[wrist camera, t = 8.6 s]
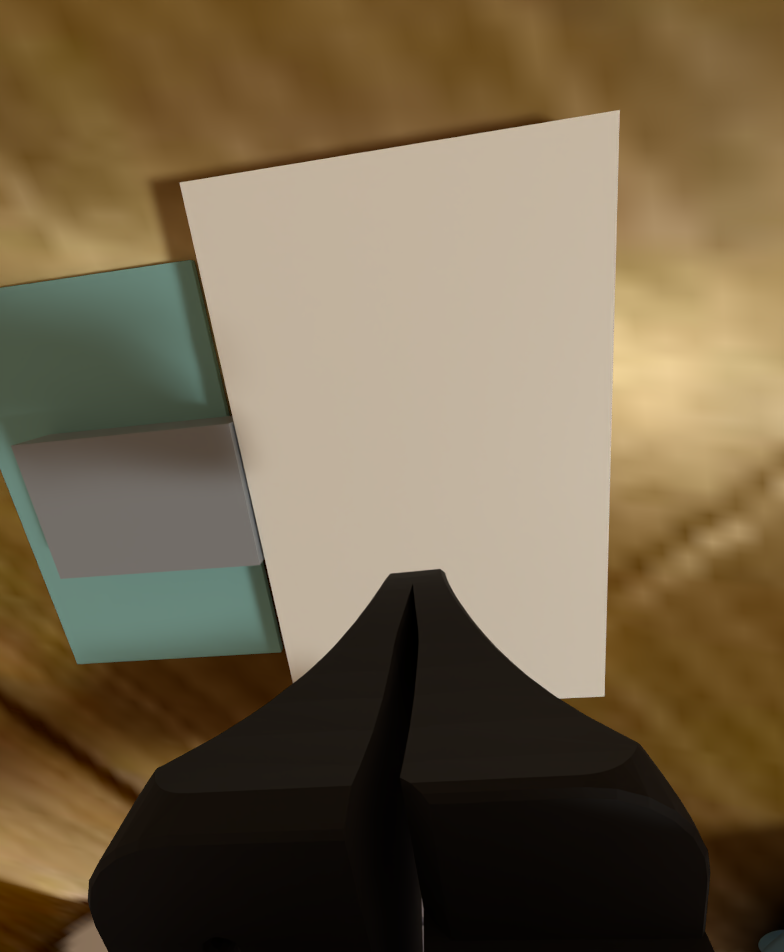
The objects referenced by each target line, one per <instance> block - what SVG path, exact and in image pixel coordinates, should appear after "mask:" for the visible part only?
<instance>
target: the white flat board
mask: <svg viewBox="0 0 784 952" xmlns="http://www.w3.org/2000/svg"><path fill="white" fill-rule="evenodd" d="M619 114H620V110H618V111H612V112H606V113H599V114H593V115H587V116H581V117H575V118H569V119H563V120H557V121H551V122H545V123H539V124H533V125H527V126H520V127H514V128H508V129H502V130H496V131H490V132H484V133H478V134H472V135H466V136H460V137H454V138H448V139H442V140H435V141H429V142H423V143H417V144H411V145H405V146H399V147H393V148H387V149H381V150H375V151H369V152H363V153H356V154H350V155H344V156H338V157H332V158H326V159H320V160H314V161H308V162H302V163H296V164H290V165H284V166H277V167H271V168H265V169H259V170H253V171H247V172H241V173H235V174H229V175H223V176H217V177H211V178H205V179H198V180H192V181H186V182H180V187H181V191H182V196H183V200H184V205H185V209H186V214H187V218H188V222H189V227H190V231H191V236H192V240H193V244H194V249H195V253H196V258H197V262H198V266H199V271H200V275H201V280H202V284H203V289H204V293H205V297H206V302H207V306H208V311H209V315H210V319H211V324H212V328H213V333H214V337H215V341H216V346H217V350H218V355H219V359H220V363H221V368H222V372H223V377H224V381H225V386H226V390H227V394H228V399H229V403H230V408H231V412H232V416H233V421H234V425H235V430H236V434H237V438H238V443H239V447H240V452H241V456H242V461H243V465H244V469H245V474H246V478H247V483H248V487H249V491H250V496H251V500H252V505H253V509H254V513H255V518H256V522H257V527H258V531H259V535H260V540H261V544H262V549H263V553H264V558H265V562H266V566H267V571H268V575H269V580H270V584H271V588H272V593H273V597H274V602H275V606H276V610H277V615H278V619H279V624H280V628H281V633H282V637H283V641H284V646H285V650H286V655H287V659H288V663H289V668H290V672H291V677H292V681H293V683H294V682H295V681H297V680H298V679H299V678H301V677H302V676H303V675H304V674H305V673H306V672H308V671H309V670H310V669H311V668H312V667H313V666H314V665H315V664H316V663H317V662H318V661H320V660H321V659H322V658H323V657H324V656H325V655H326V654H327V653H328V652H329V651H330V650H331V649H332V648H333V647H334V646H335V645H336V643H337V642H338V641H339V640H340V639H341V638H342V636H343V635H344V634H345V633H346V632H347V631H348V630H349V628H350V627H351V626H352V625H353V624H354V622H355V621H356V620H357V619H358V617H359V616H360V615H361V613H362V612H363V611H364V609H365V608H366V607H367V605H368V604H369V603H370V601H371V600H372V598H373V597H374V596H375V594H376V593H377V591H378V590H379V588H380V587H381V585H382V584H383V582H384V581H385V579H386V578H387V577H388V576H389V574H391V573H401V572H412V571H422V570H433V569H441V570H442V571H444V572H445V574H446V577H447V580H448V582H449V584H450V586H451V588H452V590H453V592H454V594H455V595H456V597H457V598H458V600H459V602H460V603H461V604H462V606H463V607H464V609H465V610H466V612H467V613H468V614H469V616H470V617H471V618H472V620H473V621H474V622H475V623H476V625H477V626H478V627H479V628H480V629H481V631H482V632H483V633H484V634H485V635H486V636H487V638H488V639H489V640H490V641H491V642H492V643H493V644H494V645H495V646H496V647H497V648H498V649H499V650H500V651H501V652H502V653H503V654H504V655H505V656H506V657H507V658H508V659H509V660H510V661H511V662H513V663H514V664H515V665H516V666H517V667H518V668H519V669H521V670H522V671H523V672H524V673H525V674H526V675H528V676H529V677H530V678H531V679H533V680H534V681H535V682H537V683H538V684H539V685H541V686H542V687H544V688H545V689H546V690H548V691H549V692H550V693H552V694H553V695H554V696H556V697H557V698H579V697H601V696H604V692H605V653H606V615H607V576H608V538H609V499H610V461H611V422H612V384H613V345H614V307H615V268H616V230H617V191H618V152H619Z"/></svg>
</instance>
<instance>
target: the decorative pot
mask: <svg viewBox="0 0 784 952" xmlns="http://www.w3.org/2000/svg"><path fill="white" fill-rule="evenodd" d="M758 947H759V949H760V951H761V952H784V930H776V931H772V932H770V933H768V934H766V935H764V936H763V937H762V938H761V939H760V941H759V943H758Z"/></svg>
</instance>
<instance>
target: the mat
mask: <svg viewBox="0 0 784 952" xmlns="http://www.w3.org/2000/svg"><path fill="white" fill-rule="evenodd" d="M226 416H230V414H229V410H228V406H227V401H226V397H225V392H224V388H223V384H222V379H221V375H220V371H219V366H218V362H217V357H216V353H215V349H214V344H213V340H212V336H211V331H210V327H209V322H208V318H207V314H206V309H205V305H204V301H203V296H202V292H201V287H200V283H199V279H198V274H197V270H196V265H195V261H193V260H187V261H180V262H173V263H166V264H159V265H153V266H146V267H139V268H132V269H125V270H119V271H112V272H105V273H98V274H91V275H85V276H78V277H71V278H64V279H57V280H51V281H44V282H37V283H30V284H23V285H17V286H10V287H3V288H0V469H1V472H2V474H3V477H4V479H5V482H6V484H7V487H8V489H9V492H10V494H11V497H12V500H13V502H14V505H15V507H16V510H17V512H18V515H19V517H20V520H21V522H22V525H23V527H24V530H25V532H26V535H27V537H28V540H29V543H30V545H31V548H32V550H33V553H34V555H35V558H36V560H37V563H38V565H39V568H40V570H41V573H42V575H43V578H44V580H45V583H46V586H47V588H48V591H49V593H50V596H51V598H52V601H53V603H54V606H55V608H56V611H57V613H58V616H59V618H60V621H61V623H62V626H63V629H64V631H65V634H66V636H67V639H68V641H69V644H70V646H71V649H72V651H73V654H74V656H75V659H76V661H77V664H88V663H105V662H122V661H140V660H157V659H174V658H191V657H208V656H226V655H243V654H260V653H277V652H282V649H283V646H282V642H281V638H280V633H279V629H278V624H277V620H276V616H275V611H274V607H273V603H272V598H271V594H270V589H269V585H268V581H267V576H266V572H265V568H264V563H263V561H262V563H261V564H260V565H254V566H240V567H225V568H211V569H197V570H182V571H168V572H153V573H139V574H125V575H110V576H96V577H81V578H67V579H60V576H59V573H58V571H57V568H56V565H55V563H54V560H53V557H52V555H51V552H50V549H49V547H48V544H47V541H46V539H45V536H44V533H43V531H42V528H41V525H40V523H39V520H38V517H37V514H36V512H35V509H34V506H33V504H32V501H31V498H30V496H29V493H28V490H27V488H26V485H25V482H24V480H23V477H22V474H21V472H20V469H19V466H18V464H17V461H16V458H15V456H14V453H13V450H12V448H11V445H15V444H18V443H22V442H25V441H29V440H32V439H36V438H39V437H43V436H46V435H50V434H59V433H69V432H79V431H89V430H98V429H108V428H118V427H128V426H138V425H147V424H157V423H167V422H177V421H187V420H197V419H206V418H216V417H226Z"/></svg>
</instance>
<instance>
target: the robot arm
mask: <svg viewBox="0 0 784 952" xmlns="http://www.w3.org/2000/svg"><path fill="white" fill-rule="evenodd" d="M709 882H710V865H709V856H708V850H707V848H706V846H705V844H704V842H703V840H702V839H701V836H700V834H699V832H698V830H697V828H696V826H695V824H694V822H693V820H692V818H691V816H690V815H689V813H688V812H687V810H686V808H685V807H684V805H683V804H682V802H681V800H680V799H679V797H678V796H677V794H676V793H675V792H674V790H673V789H672V787H671V786H670V784H669V783H668V781H667V780H666V779H665V777H664V776H663V774H662V773H661V772H660V770H659V769H658V768H657V766H656V765H655V764H654V762H653V761H652V759H651V758H650V757H649V755H648V754H647V753H646V751H645V750H644V749H643V748H642V746H641V745H640V744H639V743H637V742H635V741H633V740H631V739H630V738H628V737H626V736H624V735H622V734H620V733H618V732H616V731H614V730H613V729H611V728H609V727H607V726H605V725H603V724H601V723H599V722H597V721H595V720H594V719H592V718H590V717H588V716H586V715H584V714H583V713H581V712H579V711H578V710H576V709H575V708H573V707H571V706H570V705H568V704H567V703H565V702H564V701H562V700H560V699H559V698H557V697H556V696H554V695H553V694H552V693H550V692H549V691H548V690H546V689H545V688H544V687H542V686H541V685H539V684H538V683H537V682H535V681H534V680H533V679H531V678H530V677H529V676H528V675H526V674H525V673H524V672H523V671H522V670H521V669H519V668H518V667H517V666H516V665H515V664H514V663H513V662H511V661H510V660H509V659H508V658H507V657H506V656H505V655H504V654H503V653H502V652H501V651H500V650H499V649H498V648H497V647H496V646H495V645H494V644H493V643H492V642H491V641H490V640H489V639H488V638H487V636H486V635H485V634H484V633H483V632H482V631H481V629H480V628H479V627H478V626H477V625H476V623H475V622H474V621H473V620H472V618H471V617H470V616H469V614H468V613H467V612H466V610H465V609H464V607H463V606H462V604H461V603H460V602H459V600H458V598H457V597H456V595H455V594H454V592H453V590H452V588H451V586H450V584H449V582H448V580H447V577H446V574H445V572H444V571H442V570H441V569H433V570H422V571H412V572H401V573H391V574H389V576H388V577H387V578H386V579H385V581H384V582H383V584H382V585H381V587H380V588H379V590H378V591H377V593H376V594H375V596H374V597H373V598H372V600H371V601H370V603H369V604H368V605H367V607H366V608H365V609H364V611H363V612H362V613H361V615H360V616H359V617H358V619H357V620H356V621H355V622H354V624H353V625H352V626H351V627H350V628H349V630H348V631H347V632H346V633H345V634H344V635H343V636H342V638H341V639H340V640H339V641H338V642H337V643H336V645H335V646H334V647H333V648H332V649H331V650H330V651H329V652H328V653H327V654H326V655H325V656H324V657H323V658H322V659H321V660H320V661H318V662H317V663H316V664H315V665H314V666H313V667H312V668H311V669H310V670H309V671H308V672H306V673H305V674H304V675H303V676H302V677H301V678H299V679H298V680H297V681H295V682H294V683H293V684H292V685H290V686H289V687H288V688H287V689H285V690H284V691H283V692H281V693H280V694H279V695H278V696H276V697H275V698H274V699H273V700H271V701H270V702H268V703H267V704H266V705H264V706H263V707H261V708H260V709H258V710H257V711H256V712H254V713H253V714H251V715H250V716H248V717H247V718H245V719H244V720H242V721H240V722H239V723H237V724H236V725H234V726H233V727H231V728H229V729H228V730H226V731H225V732H223V733H221V734H219V735H218V736H216V737H214V738H213V739H211V740H209V741H207V742H205V743H204V744H202V745H200V746H198V747H196V748H194V749H193V750H191V751H189V752H187V753H185V754H184V755H182V756H180V757H178V758H176V759H174V760H173V761H171V762H169V763H167V764H165V765H163V766H161V767H159V768H157V769H156V770H155V772H154V773H153V775H152V776H151V778H150V779H149V781H148V782H147V784H146V785H145V787H144V789H143V790H142V792H141V793H140V795H139V796H138V798H137V799H136V801H135V803H134V804H133V806H132V808H131V809H130V811H129V813H128V814H127V816H126V818H125V819H124V821H123V823H122V824H121V826H120V828H119V829H118V831H117V833H116V834H115V836H114V838H113V839H112V841H111V843H110V844H109V846H108V848H107V849H106V851H105V853H104V854H103V856H102V858H101V859H100V861H99V863H98V865H97V867H96V868H95V870H94V872H93V874H92V876H91V878H90V880H89V890H88V903H89V908H90V911H91V914H92V917H93V920H94V923H95V926H96V928H97V930H98V932H99V934H100V936H101V938H102V940H103V942H104V944H105V946H106V948H107V950H108V952H715V951H714V949H713V947H712V945H711V943H710V941H709V939H708V936H707V934H706V932H705V925H706V914H707V904H708V893H709Z"/></svg>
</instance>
